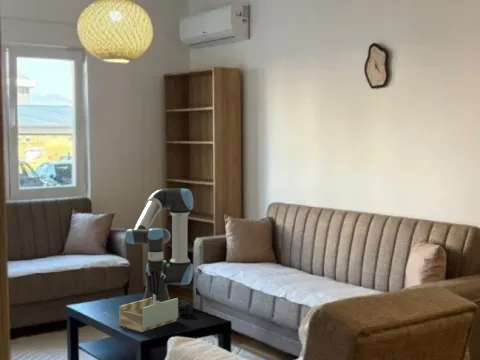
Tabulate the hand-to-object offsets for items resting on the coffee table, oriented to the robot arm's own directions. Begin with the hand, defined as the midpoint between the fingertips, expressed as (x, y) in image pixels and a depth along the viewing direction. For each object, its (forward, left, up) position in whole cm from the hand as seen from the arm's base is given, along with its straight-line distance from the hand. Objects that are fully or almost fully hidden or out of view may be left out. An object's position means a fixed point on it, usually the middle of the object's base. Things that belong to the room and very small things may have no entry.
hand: (156, 306), depth 325 cm
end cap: (-23, -3, -10) cm, 25 cm away
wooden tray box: (0, -5, -10) cm, 11 cm away
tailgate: (0, +3, -8) cm, 8 cm away
